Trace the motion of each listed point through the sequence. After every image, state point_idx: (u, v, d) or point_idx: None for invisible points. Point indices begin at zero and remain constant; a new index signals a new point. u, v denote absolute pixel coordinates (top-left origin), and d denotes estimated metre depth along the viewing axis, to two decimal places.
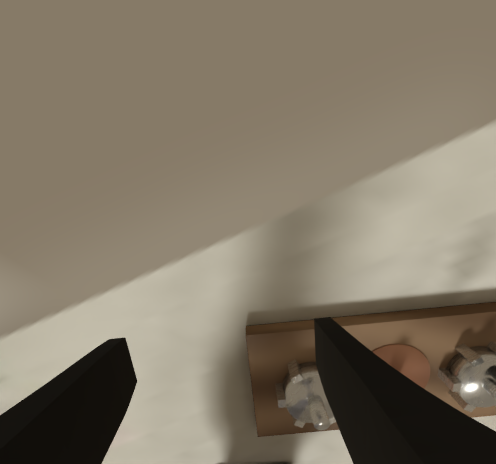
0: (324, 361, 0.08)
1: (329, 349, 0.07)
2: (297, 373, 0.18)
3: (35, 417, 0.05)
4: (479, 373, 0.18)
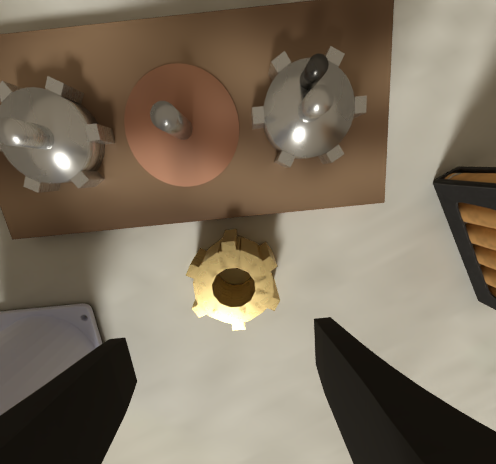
0: (324, 361, 0.08)
1: (329, 349, 0.07)
2: (3, 82, 0.12)
3: (35, 417, 0.05)
4: (288, 86, 0.12)
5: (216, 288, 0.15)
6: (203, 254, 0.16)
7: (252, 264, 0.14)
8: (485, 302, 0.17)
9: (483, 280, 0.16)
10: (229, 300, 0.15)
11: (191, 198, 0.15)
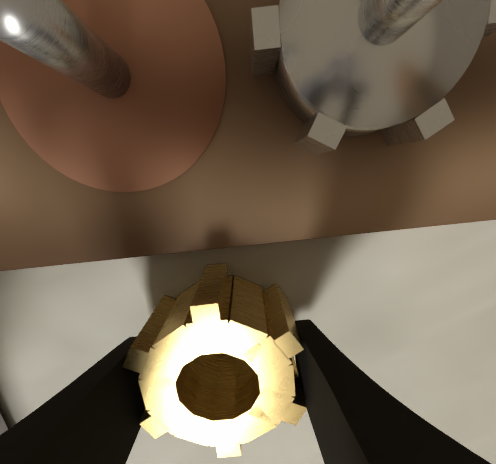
0: (301, 363, 0.08)
1: (304, 351, 0.07)
2: None
3: (68, 414, 0.05)
4: None
5: (188, 375, 0.08)
6: (167, 310, 0.09)
7: (254, 347, 0.07)
8: None
9: None
10: (212, 398, 0.08)
11: (138, 214, 0.08)
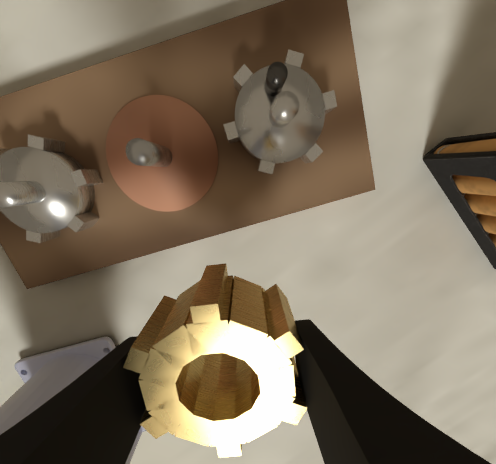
0: (301, 363, 0.08)
1: (304, 351, 0.07)
2: None
3: (68, 414, 0.05)
4: (254, 97, 0.12)
5: (189, 375, 0.08)
6: (167, 311, 0.09)
7: (255, 347, 0.07)
8: None
9: (494, 248, 0.16)
10: (212, 399, 0.08)
11: (184, 220, 0.15)
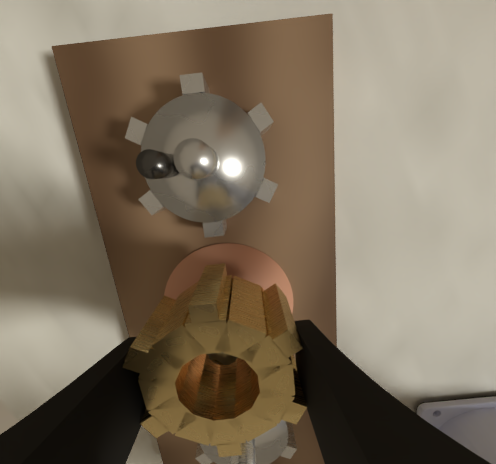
0: (301, 363, 0.08)
1: (304, 351, 0.07)
2: (196, 457, 0.13)
3: (68, 414, 0.05)
4: (177, 192, 0.09)
5: (189, 375, 0.08)
6: (167, 310, 0.09)
7: (253, 346, 0.07)
8: None
9: None
10: (212, 398, 0.08)
11: (307, 298, 0.12)
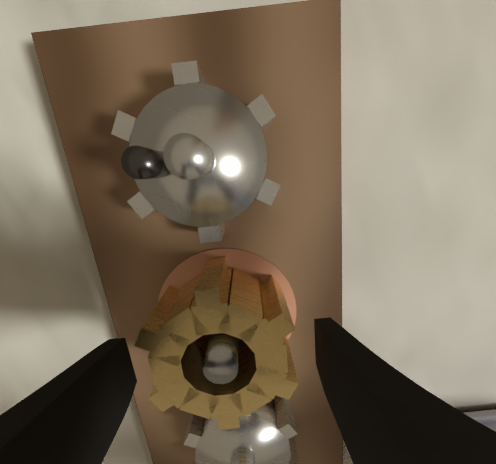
0: (324, 361, 0.08)
1: (329, 349, 0.07)
2: None
3: (35, 417, 0.05)
4: (169, 194, 0.08)
5: (192, 356, 0.09)
6: (172, 298, 0.10)
7: (251, 328, 0.08)
8: None
9: None
10: None
11: (311, 307, 0.11)
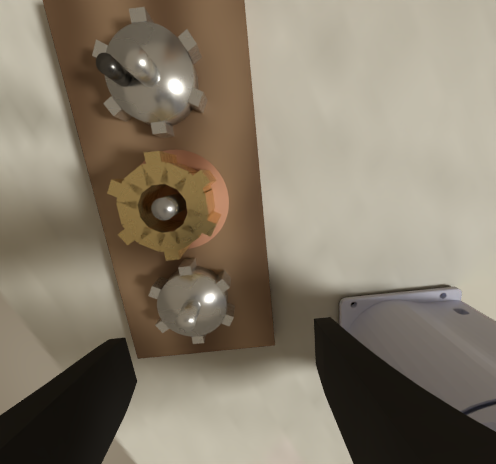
0: (324, 361, 0.08)
1: (329, 349, 0.07)
2: (156, 325, 0.16)
3: (35, 417, 0.05)
4: (131, 98, 0.13)
5: (149, 216, 0.14)
6: None
7: (182, 180, 0.12)
8: None
9: None
10: (163, 228, 0.14)
11: (239, 197, 0.16)
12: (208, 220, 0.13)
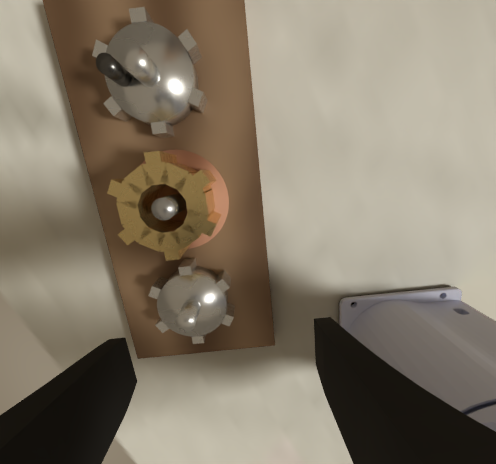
0: (324, 361, 0.08)
1: (329, 349, 0.07)
2: (156, 325, 0.16)
3: (35, 417, 0.05)
4: (131, 98, 0.13)
5: (149, 216, 0.14)
6: None
7: (182, 180, 0.12)
8: None
9: None
10: (163, 228, 0.14)
11: (239, 197, 0.16)
12: (208, 220, 0.13)
